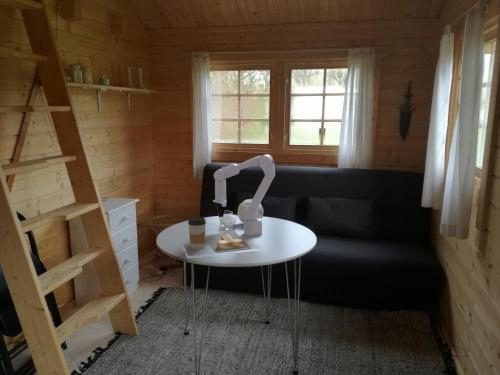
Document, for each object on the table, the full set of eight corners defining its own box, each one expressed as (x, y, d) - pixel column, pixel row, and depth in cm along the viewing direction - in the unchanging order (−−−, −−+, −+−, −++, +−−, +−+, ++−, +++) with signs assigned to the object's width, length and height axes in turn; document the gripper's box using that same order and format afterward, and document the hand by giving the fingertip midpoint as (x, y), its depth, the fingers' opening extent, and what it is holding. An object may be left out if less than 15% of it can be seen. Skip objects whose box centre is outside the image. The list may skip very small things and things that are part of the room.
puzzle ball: (240, 229, 224) (240, 202, 222) (235, 222, 239) (235, 197, 236) (266, 227, 228) (266, 201, 225) (259, 220, 242) (259, 196, 240)
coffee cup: (203, 252, 186) (202, 221, 184) (186, 251, 188) (185, 220, 185) (208, 246, 195) (208, 216, 192) (192, 245, 196) (191, 215, 193)
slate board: (234, 233, 215) (234, 231, 215) (250, 249, 191) (250, 247, 191) (202, 237, 210) (201, 235, 209) (214, 253, 185) (214, 251, 185)
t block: (236, 239, 202) (236, 233, 202) (243, 246, 191) (243, 240, 191) (213, 241, 198) (213, 236, 198) (219, 249, 187) (219, 243, 187)
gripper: (209, 189, 216) (210, 214, 219) (216, 195, 203) (217, 220, 206) (222, 189, 219) (222, 213, 221) (230, 194, 205) (230, 219, 208)
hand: (220, 216), depth 214 cm, fingers closed
